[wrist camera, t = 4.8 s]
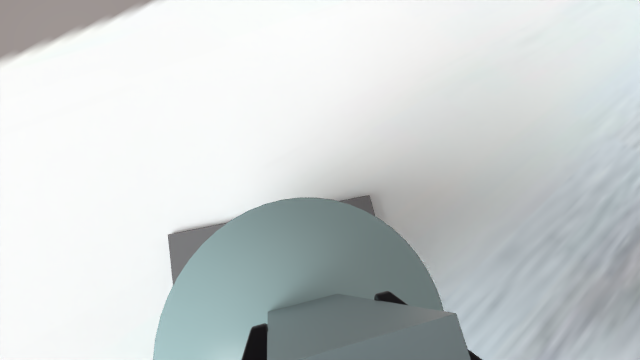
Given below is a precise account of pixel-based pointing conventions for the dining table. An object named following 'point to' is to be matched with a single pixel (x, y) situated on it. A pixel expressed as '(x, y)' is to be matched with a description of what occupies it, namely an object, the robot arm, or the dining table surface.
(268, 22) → the dining table surface
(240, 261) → the domed base post
